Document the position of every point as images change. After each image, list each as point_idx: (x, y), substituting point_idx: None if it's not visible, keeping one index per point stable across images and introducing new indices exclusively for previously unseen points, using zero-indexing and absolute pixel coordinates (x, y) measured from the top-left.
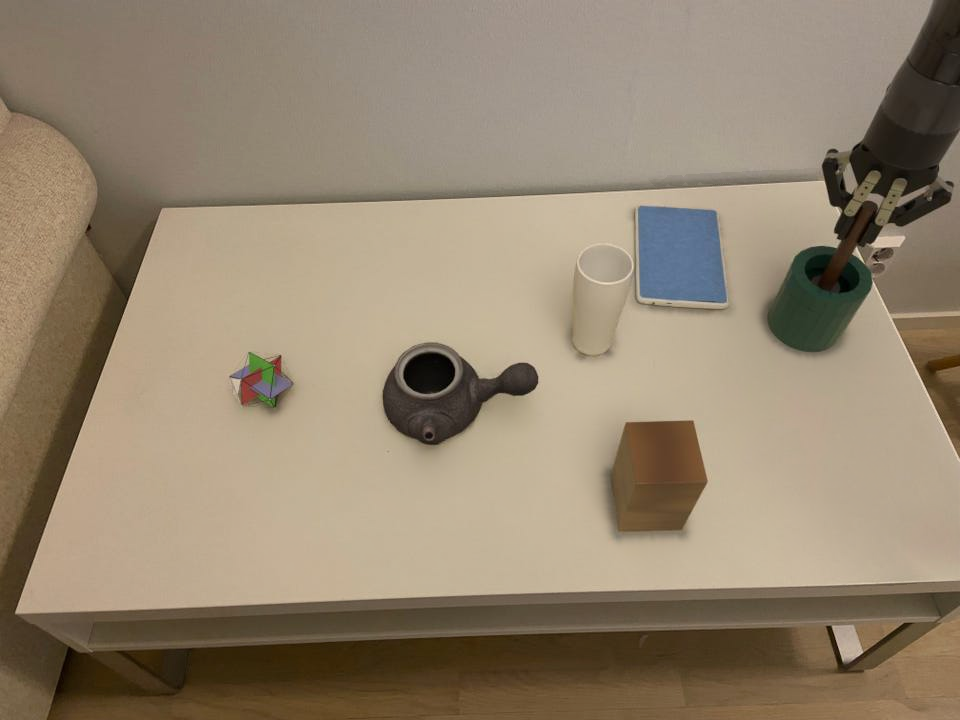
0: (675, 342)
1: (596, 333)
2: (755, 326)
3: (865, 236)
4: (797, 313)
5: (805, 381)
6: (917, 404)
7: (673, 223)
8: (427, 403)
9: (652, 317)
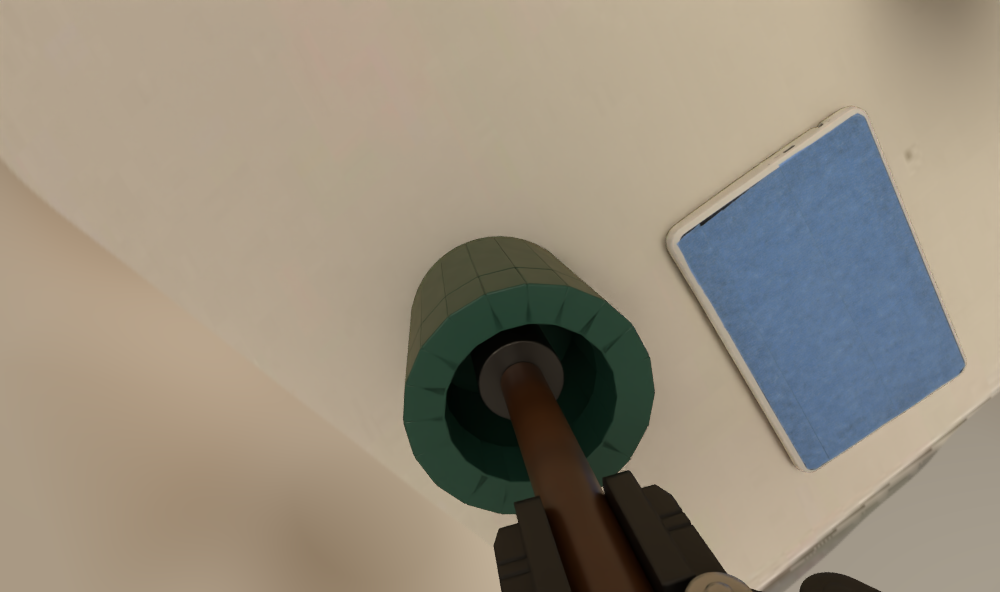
0: (719, 55)
1: None
2: (583, 238)
3: (543, 539)
4: (533, 260)
5: (408, 163)
6: (170, 282)
7: (877, 376)
8: None
9: (798, 91)
